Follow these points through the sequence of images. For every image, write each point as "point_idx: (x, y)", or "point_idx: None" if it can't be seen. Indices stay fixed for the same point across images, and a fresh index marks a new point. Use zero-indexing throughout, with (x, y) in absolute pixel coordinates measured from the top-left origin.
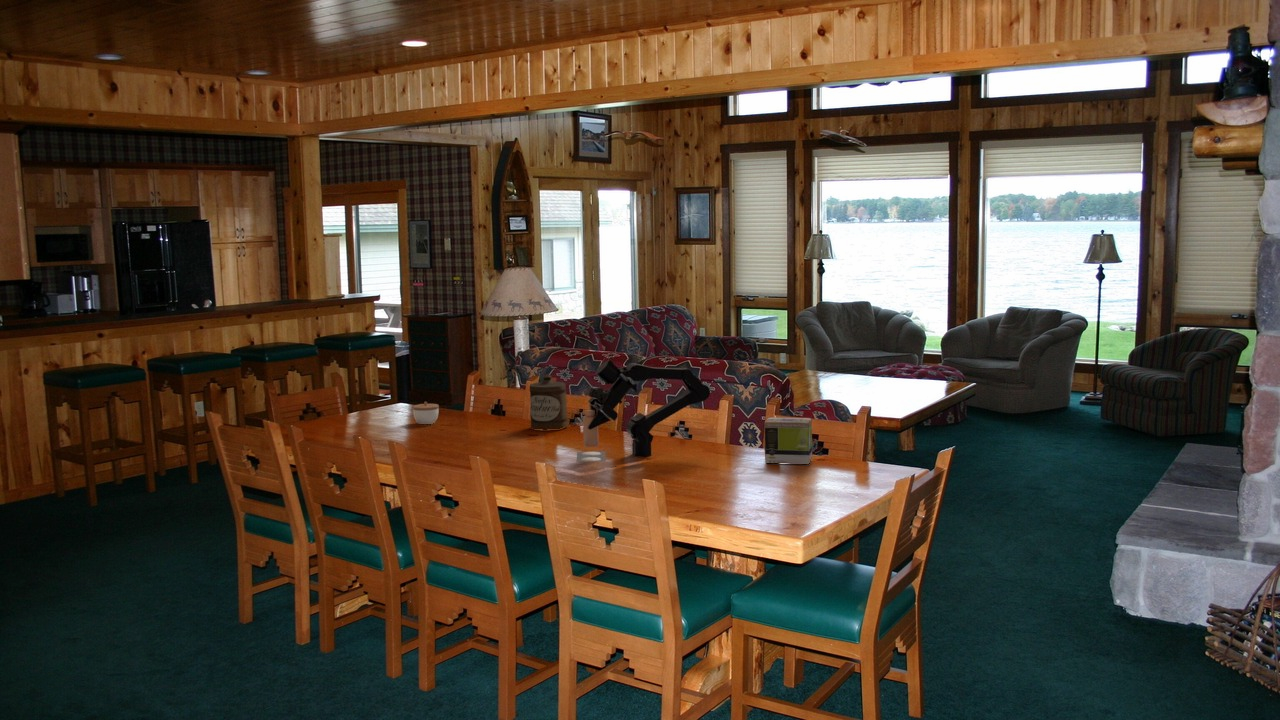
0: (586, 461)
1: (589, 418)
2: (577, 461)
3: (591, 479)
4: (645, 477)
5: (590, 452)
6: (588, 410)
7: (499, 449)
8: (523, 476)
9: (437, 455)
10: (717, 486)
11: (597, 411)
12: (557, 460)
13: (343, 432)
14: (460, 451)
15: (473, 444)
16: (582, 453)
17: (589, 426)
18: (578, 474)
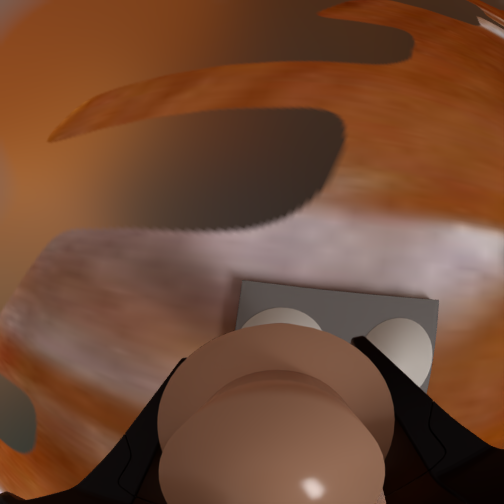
0: (243, 326)
1: (162, 404)
2: (253, 285)
3: (45, 297)
4: (46, 437)
5: (419, 358)
6: (324, 470)
7: (478, 96)
8: (144, 113)
9: (404, 14)
10: (11, 490)
11: (34, 500)
12: (352, 212)
13: (493, 13)
14: (443, 42)
15: (499, 76)
16: (410, 322)
17: (172, 373)
18: (99, 268)
